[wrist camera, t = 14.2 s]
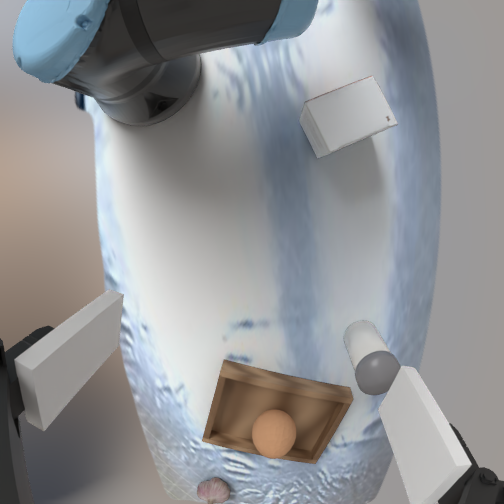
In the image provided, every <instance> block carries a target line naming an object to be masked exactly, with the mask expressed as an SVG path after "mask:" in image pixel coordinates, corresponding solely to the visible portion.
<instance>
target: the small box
mask: <svg viewBox="0 0 504 504" xmlns="http://www.w3.org/2000/svg"><path fill="white" fill-rule="evenodd" d="M299 122H300V124H301V126H302V128H303V130H304V132H305V134H306V136H307V138H308V140H309V142H310V144H311V146H312V148H313V150H314V152H315V154H316V156H317V158H318V159H319V158H321V157H324V156H326V155H328V154H330V153H332V152H335V151H337V150H339V149H341V148H344V147H346V146H348V145H351V144H353V143H355V142H358V141H360V140H362V139H365V138H367V137H370V136H372V135H374V134H377V133H379V132H382V131H384V130H386V129H388V128H391V127H393V126H396V125H398V123H397V121H396V119H395V117H394V115H393V113H392V111H391V109H390V107H389V105H388V103H387V101H386V99H385V97H384V95H383V93H382V91H381V89H380V87H379V86H378V84H377V82H376V80H375V78H374V77H373V76H370V77H367V78H364V79H362V80H359V81H356V82H354V83H351V84H348V85H346V86H343V87H341V88H338V89H336V90H333V91H331V92H328V93H326V94H323V95H321V96H318V97H316V98H314V99H311V100H309V101H306V102H305V104H304V107H303V110H302V113H301V116H300V119H299Z"/></svg>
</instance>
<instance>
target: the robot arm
mask: <svg viewBox="0 0 504 504" xmlns="http://www.w3.org/2000/svg"><path fill="white" fill-rule="evenodd" d="M317 4H318V0H27V2H26V3H25V5H24V6H23V9H22V10H21V12H20V15H19V17H18V20H17V23H16V26H15V30H14V35H13V54H14V58H15V61H16V63H17V64H18V66H19V67H20V68H21V70H23V71H24V72H26V73H27V74H30V75H32V76H35V77H36V78H38V79H39V80H40V81H41V82H44V83H53V84H56V85H59V86H62V87H65V88H68V89H71V90H74V91H76V92H79V93H82V94H85V95H88V96H90V97H94V99H95V100H96V101H97V103H98V104H99V106H100V107H101V109H102V110H103V111H104V112H105V113H106V114H107V115H108V116H110V117H111V118H113V119H115V120H117V121H119V122H122V123H125V124H129V125H134V126H145V125H151V124H155V123H158V122H161V121H163V120H165V119H167V118H169V117H170V116H172V115H173V114H175V113H176V112H177V111H178V110H180V109H181V108H182V107H183V106H184V105H185V103H186V102H187V101H188V100H189V98H190V97H191V96H192V94H193V92H194V90H195V88H196V86H197V84H198V81H199V77H200V71H201V61H200V55H199V54H201V53H205V52H210V51H215V50H220V49H225V48H231V47H236V46H242V45H249V44H254V45H262V44H264V43H266V42H269V41H275V40H282V39H289V38H294V37H297V36H299V35H301V34H302V33H303V32H304V31H305V30H306V29H307V28H308V27H309V26H310V24H311V23H312V20H313V18H314V15H315V12H316V8H317ZM123 297H124V294H121V293H118V292H115V291H113V290H110V289H109V290H108V291H106V292H105V293H103V294H102V295H100V296H99V297H98V298H96V299H95V300H93V301H92V302H91V303H89V304H88V305H86V306H85V307H84V308H82V309H81V310H80V311H78V312H77V313H76V314H74V315H73V316H71V317H70V318H69V319H67V320H66V321H64V322H63V323H62V324H60V325H59V326H58V327H56V328H55V329H54V328H52V327H50V326H46V327H42V328H39V329H37V330H35V331H34V332H32V333H31V334H30V335H29V336H27V337H25V338H24V339H23V340H22V341H20V342H19V343H17V344H16V345H14V346H13V347H12V348H10V349H9V350H7V351H6V352H4V346H3V341H2V340H1V339H0V504H34V500H33V496H32V492H31V488H30V483H29V478H28V473H27V468H26V462H25V456H24V450H23V443H22V435H21V427H20V420H19V415H20V414H21V413H22V411H25V415H26V418H27V421H28V422H30V423H31V424H33V425H35V426H36V427H38V428H40V429H41V430H43V431H45V429H46V428H47V427H48V426H49V425H50V423H51V422H52V421H53V420H54V419H55V418H56V416H57V415H58V414H59V413H60V412H61V411H62V409H63V408H64V407H65V406H66V405H67V403H68V402H69V401H70V400H71V399H72V398H73V397H74V395H75V394H76V393H77V392H78V391H79V390H80V389H81V387H82V386H83V385H84V384H85V383H86V382H87V381H88V380H89V378H90V377H91V376H92V375H93V374H94V373H95V372H96V370H97V369H98V368H99V367H100V366H101V365H102V364H103V363H104V362H105V360H106V359H107V358H108V357H109V356H110V355H111V354H112V352H113V351H114V350H115V349H116V348H117V347H118V346H119V340H120V328H121V316H122V306H123ZM378 411H379V414H380V417H381V420H382V422H383V425H384V428H385V431H386V433H387V436H388V439H389V442H390V445H391V447H392V450H393V453H394V456H395V459H396V462H397V465H398V468H399V471H400V474H401V477H402V480H403V483H404V486H405V489H406V492H407V495H408V498H409V502H410V504H435V503H436V502H438V503H439V504H504V481H500V480H498V478H497V476H496V474H495V473H494V472H493V471H491V470H490V469H487V468H479V467H478V465H477V463H476V461H475V459H474V458H473V456H472V454H471V452H470V451H469V449H468V447H466V444H465V442H464V440H462V439H463V438H462V437H461V435H460V433H459V432H458V430H457V429H456V428H455V427H453V426H452V424H450V423H448V421H447V420H446V418H445V416H444V414H443V413H442V411H441V409H440V408H439V406H438V405H437V403H436V401H435V400H434V398H433V396H432V395H431V393H430V392H429V390H428V388H427V387H426V385H425V383H424V382H423V380H422V379H421V377H420V376H419V374H418V372H417V371H416V369H415V368H413V367H407V366H401V368H400V370H399V372H398V374H397V376H396V378H395V380H394V382H393V384H392V385H391V387H390V389H389V391H388V393H387V394H386V396H385V398H384V400H383V402H382V403H381V405H380V407H379V408H378Z"/></svg>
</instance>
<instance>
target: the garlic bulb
mask: <svg viewBox="0 0 504 504" xmlns="http://www.w3.org/2000/svg"><path fill="white" fill-rule="evenodd" d="M197 495H198V497H199V498H200V499H202V500H205V501H207V502H208V504H213V503H223V502H225V501H226V500H228V498H229V496H230V489H229V488H228V485H227V483H225V482H224V481H222V480H220V479H219V478H216V477H215V478H212V479H211V480H210V481H203V482H201V483H200V484H199V485H198V490H197Z"/></svg>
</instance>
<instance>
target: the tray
mask: <svg viewBox="0 0 504 504" xmlns="http://www.w3.org/2000/svg"><path fill="white" fill-rule="evenodd" d="M352 401H353V396H352V392H351V389H350V387H344V386H339V385H333V384H328V383H323V382H317V381H312V380H308V379H303V378H298V377H293V376H289V375H284V374H280V373H276V372H271V371H267V370H263V369H259V368H255V367H251V366H247V365H243V364H239V363H235V362H232V361H228V360H224V361H223V365H222V368H221V371H220V375H219V379H218V383H217V386H216V390H215V394H214V398H213V401H212V405H211V409H210V413H209V416H208V420H207V424H206V428H205V431H204V435H203V439H202V441H203V442H206V443H210V444H214V445H218V446H222V447H226V448H230V449H234V450H238V451H243V452H247V453H252V454H257V455H262V454H261V453H260V452H259V451H258V450H257V448H256V447H255V445H254V443H253V439H252V429H253V425H254V422H255V421H256V419H257V418H258V417H259V416H260V415H261V414H262V413H264V412H266V411H268V410H281V411H284V412H285V413H287V414H288V415H290V416H291V418H292V419H293V421H294V422H295V426H296V439H295V442H294V445H293V446H292V448H291V449H290V451H289V452H288V453H287V454H285V455H284V456H282V457H280V458H278V459H284V460H291V461H297V462H305V463H312V464H316V462H317V460H318V459H319V457H320V456H321V454H322V453H323V451H324V449H325V448H326V446H327V444H328V443H329V441H330V439H331V438H332V436H333V434H334V433H335V431H336V429H337V428H338V426H339V424H340V422H341V421H342V419H343V417H344V415H345V413H346V412H347V410H348V408H349V406H350V404H351V403H352ZM262 456H263V455H262Z"/></svg>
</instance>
